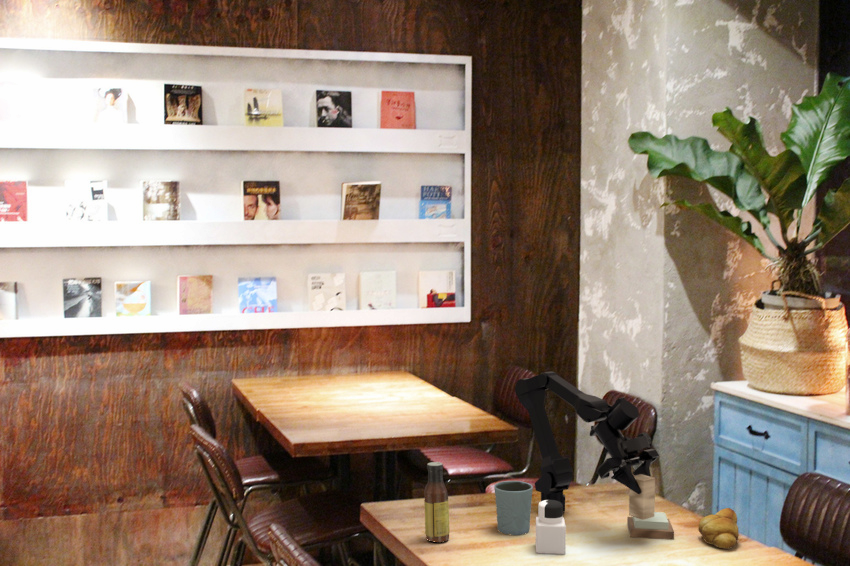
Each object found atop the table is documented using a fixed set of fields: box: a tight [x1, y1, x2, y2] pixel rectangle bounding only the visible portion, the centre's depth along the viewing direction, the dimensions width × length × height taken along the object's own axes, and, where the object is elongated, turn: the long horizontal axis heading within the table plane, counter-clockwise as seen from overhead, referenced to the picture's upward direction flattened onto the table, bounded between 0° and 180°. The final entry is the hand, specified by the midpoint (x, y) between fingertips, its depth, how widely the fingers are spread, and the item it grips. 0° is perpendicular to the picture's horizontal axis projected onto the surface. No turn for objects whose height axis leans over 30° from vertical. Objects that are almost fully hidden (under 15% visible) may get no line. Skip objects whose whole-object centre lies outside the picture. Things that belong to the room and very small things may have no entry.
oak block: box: [628, 474, 656, 520], centre depth 223 cm, size 4×4×10 cm
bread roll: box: [697, 507, 740, 549], centre depth 224 cm, size 13×10×8 cm
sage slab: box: [632, 511, 669, 530], centre depth 232 cm, size 8×8×2 cm
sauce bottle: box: [423, 461, 450, 543], centre depth 225 cm, size 7×6×20 cm
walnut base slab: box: [626, 516, 675, 540], centre depth 232 cm, size 11×11×2 cm
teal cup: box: [493, 480, 534, 536], centre depth 233 cm, size 10×10×12 cm
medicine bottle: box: [535, 500, 567, 555], centre depth 218 cm, size 7×7×12 cm
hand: (646, 491), depth 222 cm, fingers closed on oak block, 4 cm apart
